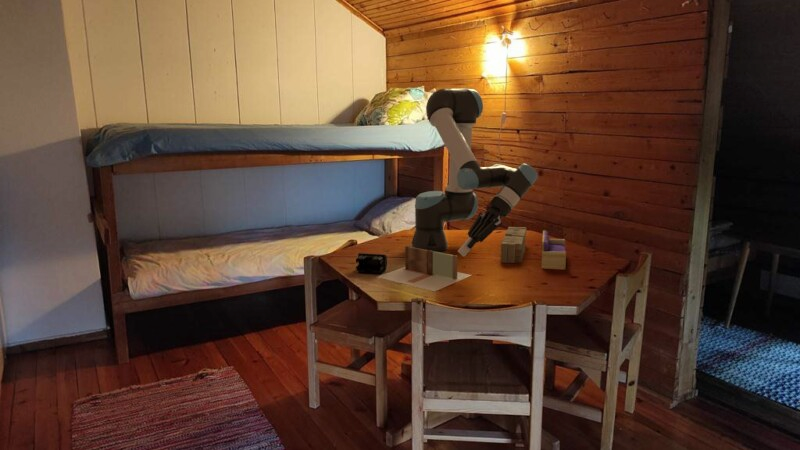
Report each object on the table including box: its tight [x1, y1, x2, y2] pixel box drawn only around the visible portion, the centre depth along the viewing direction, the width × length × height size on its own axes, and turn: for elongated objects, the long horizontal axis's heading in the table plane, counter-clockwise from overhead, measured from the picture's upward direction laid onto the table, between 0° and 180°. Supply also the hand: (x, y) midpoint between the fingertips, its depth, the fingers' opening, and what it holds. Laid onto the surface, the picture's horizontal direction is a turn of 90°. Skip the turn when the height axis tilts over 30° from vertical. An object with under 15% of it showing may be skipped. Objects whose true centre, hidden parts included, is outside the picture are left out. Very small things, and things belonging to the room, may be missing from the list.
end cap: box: [355, 252, 388, 276], centre depth 203 cm, size 10×7×7 cm
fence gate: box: [433, 251, 458, 279], centre depth 194 cm, size 10×2×8 cm, turn 50°
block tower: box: [500, 226, 527, 264], centre depth 227 cm, size 8×8×29 cm
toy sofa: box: [541, 230, 567, 270], centre depth 213 cm, size 21×9×10 cm, turn 165°
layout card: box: [377, 266, 472, 292], centre depth 197 cm, size 25×22×1 cm
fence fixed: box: [404, 245, 433, 275], centre depth 201 cm, size 12×2×8 cm, turn 50°
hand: (460, 253), depth 195 cm, fingers closed
